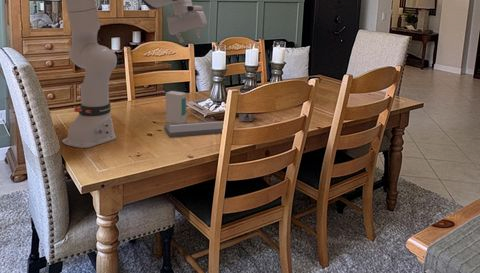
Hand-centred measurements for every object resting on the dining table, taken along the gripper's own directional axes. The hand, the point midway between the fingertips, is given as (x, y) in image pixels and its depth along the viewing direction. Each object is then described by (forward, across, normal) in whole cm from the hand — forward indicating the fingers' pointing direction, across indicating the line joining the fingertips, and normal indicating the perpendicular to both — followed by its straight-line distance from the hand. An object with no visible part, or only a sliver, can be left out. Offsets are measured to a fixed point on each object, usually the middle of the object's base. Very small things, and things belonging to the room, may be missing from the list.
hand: (190, 40), depth 233 cm
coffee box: (+42, +15, +12) cm, 46 cm away
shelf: (+40, +4, -17) cm, 44 cm away
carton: (+36, -10, -11) cm, 39 cm away
